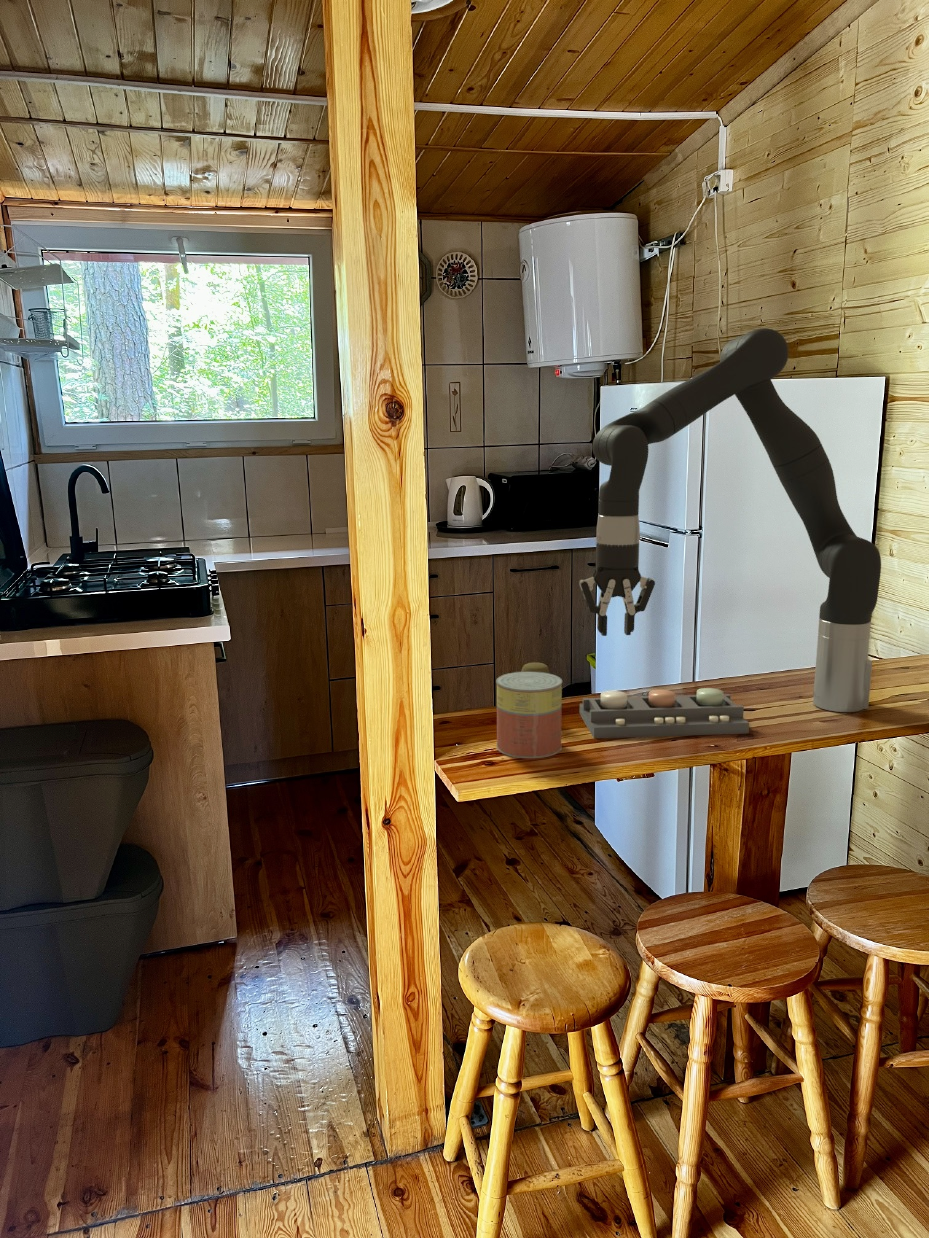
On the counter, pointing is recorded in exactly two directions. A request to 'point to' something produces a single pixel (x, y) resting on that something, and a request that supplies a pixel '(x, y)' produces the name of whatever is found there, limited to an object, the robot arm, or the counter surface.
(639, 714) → the console
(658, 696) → the button three
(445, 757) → the counter surface
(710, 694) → the button two
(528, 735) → the canned food
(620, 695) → the button one
